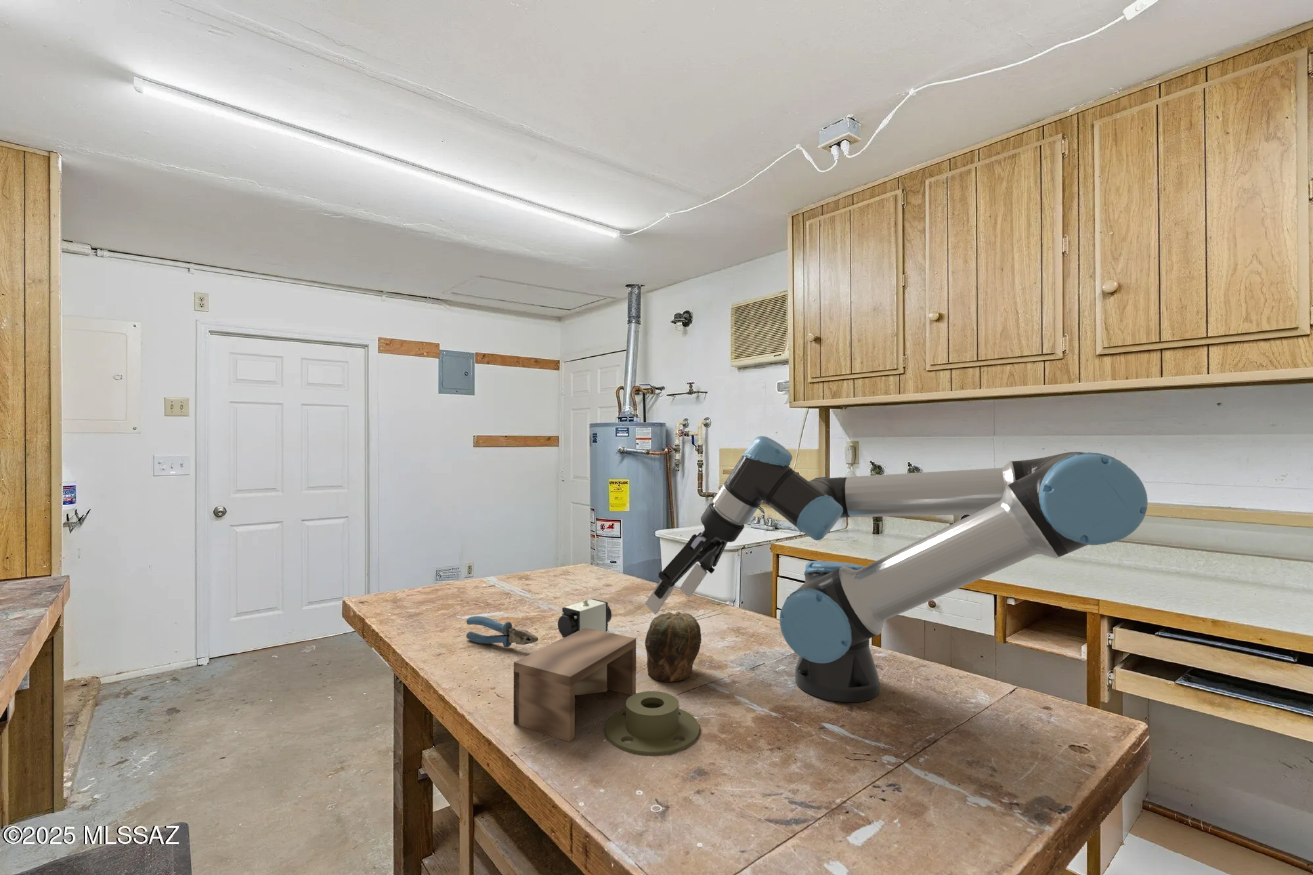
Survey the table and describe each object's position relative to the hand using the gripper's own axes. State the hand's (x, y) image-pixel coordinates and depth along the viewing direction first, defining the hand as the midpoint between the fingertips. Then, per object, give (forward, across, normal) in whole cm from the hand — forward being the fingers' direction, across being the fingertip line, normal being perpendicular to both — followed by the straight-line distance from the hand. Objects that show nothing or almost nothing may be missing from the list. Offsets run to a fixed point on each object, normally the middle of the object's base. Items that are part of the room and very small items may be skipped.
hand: (668, 600), depth 111 cm
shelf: (+17, +17, +3) cm, 24 cm away
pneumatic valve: (+25, -2, -9) cm, 27 cm away
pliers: (+36, +3, -24) cm, 44 cm away
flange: (+10, +17, +15) cm, 25 cm away
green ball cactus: (+13, -3, +8) cm, 16 cm away
